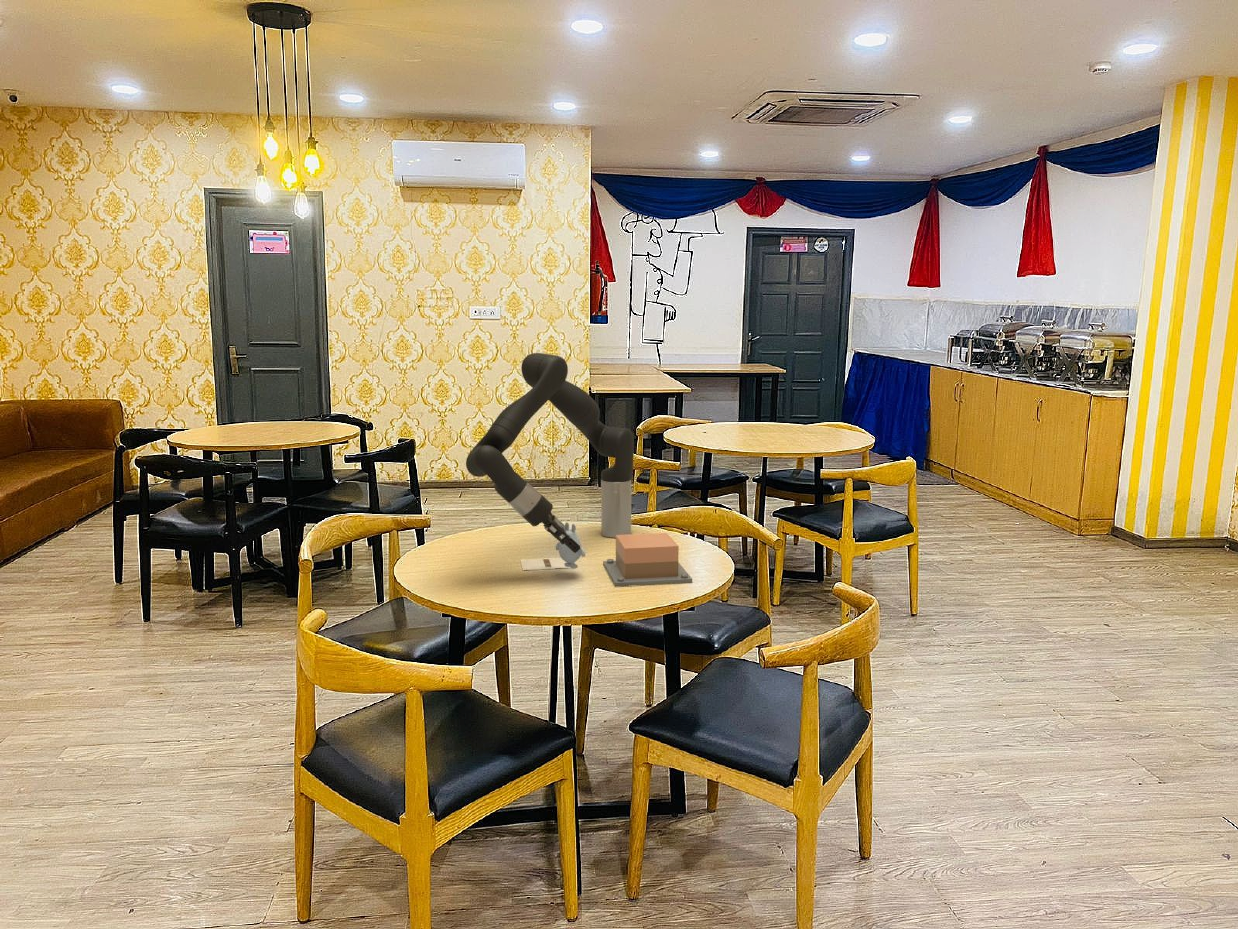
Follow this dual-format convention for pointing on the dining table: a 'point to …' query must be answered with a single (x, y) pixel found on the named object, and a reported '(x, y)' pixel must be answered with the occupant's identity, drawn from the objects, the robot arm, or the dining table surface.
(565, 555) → the toy figure
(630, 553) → the orange square pedestal
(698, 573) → the dining table surface
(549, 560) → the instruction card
